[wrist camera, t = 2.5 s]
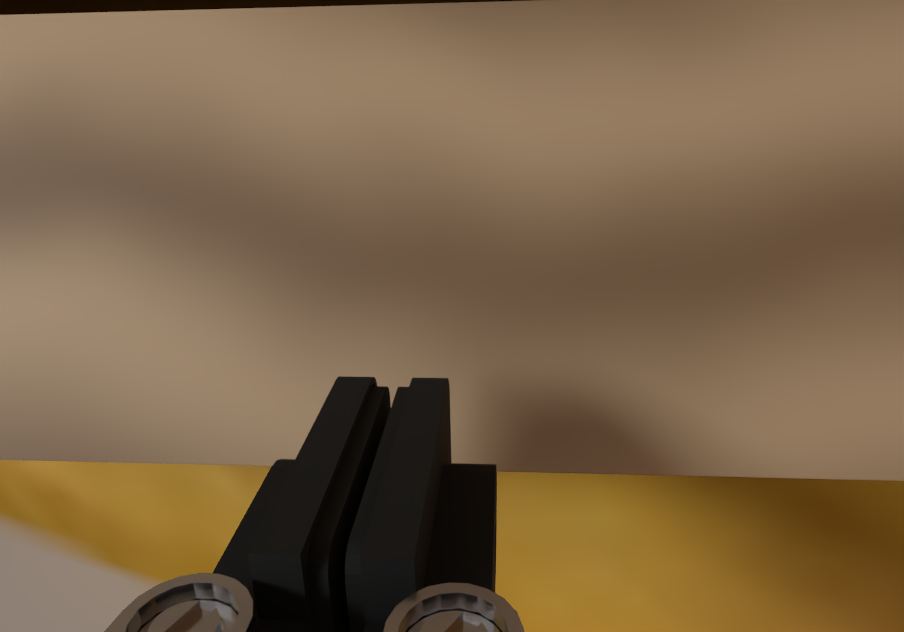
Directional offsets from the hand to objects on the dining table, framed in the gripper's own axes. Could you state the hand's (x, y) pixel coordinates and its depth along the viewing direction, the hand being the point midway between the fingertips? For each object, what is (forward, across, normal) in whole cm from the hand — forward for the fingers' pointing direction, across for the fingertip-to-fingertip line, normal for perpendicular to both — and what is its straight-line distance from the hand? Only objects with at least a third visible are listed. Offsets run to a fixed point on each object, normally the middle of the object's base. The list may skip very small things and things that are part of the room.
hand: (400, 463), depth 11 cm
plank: (+5, 0, -2) cm, 5 cm away
